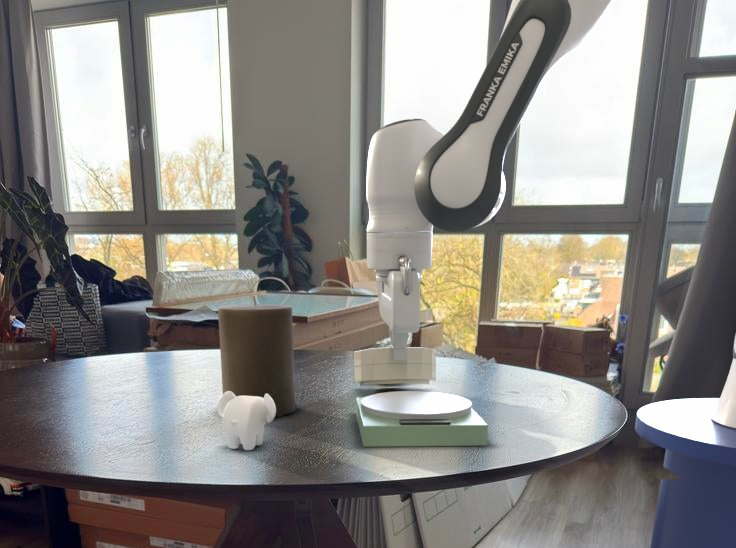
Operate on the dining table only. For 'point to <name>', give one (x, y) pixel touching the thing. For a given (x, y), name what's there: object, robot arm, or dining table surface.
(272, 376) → the pillar candle
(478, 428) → the scale
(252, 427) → the elephant figurine
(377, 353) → the bowl
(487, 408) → the dining table surface
